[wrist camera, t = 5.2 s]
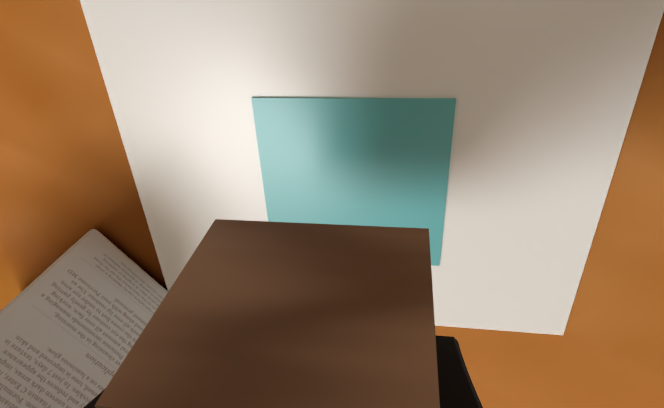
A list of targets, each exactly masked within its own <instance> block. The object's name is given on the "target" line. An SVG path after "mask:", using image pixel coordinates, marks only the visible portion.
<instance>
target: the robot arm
mask: <svg viewBox="0 0 664 408" xmlns="http://www.w3.org/2000/svg"><path fill="white" fill-rule="evenodd" d="M436 353H437V369H438V385H439V401H440V408H483V407H482V405H481V402H480V400H479V398H478V396H477V393H476V391H475V388H474V386H473V384H472V381H471V379H470V376H469V374H468V371H467V368H466V366H465V363H464V360H463V357H462V354H461V351H460V348H459V344H458V341H457V340H456V339H455V338H454V337H447V336H436ZM105 389H106V388H105ZM105 389H104V390H105ZM104 390H103V391H102V392H101V393H100V394H98V395H97V396H96V397H95V398H94V399H93V400H92V401H90V402H89V403H88V404H87V405H86V406H85V407H83V408H95V404H96V402H97V401H98V399H99V398H100V396H101V395H102V393H103V392H104Z"/></svg>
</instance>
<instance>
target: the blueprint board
mask: <svg viewBox="0 0 664 408" xmlns="http://www.w3.org/2000/svg"><path fill="white" fill-rule="evenodd" d="M80 2H81V6H82V9H83V12H84V16H85V19H86V22H87V26H88V29H89V32H90V35H91V39H92V42H93V45H94V49H95V52H96V55H97V59H98V62H99V65H100V68H101V72H102V75H103V78H104V82H105V85H106V88H107V92H108V95H109V98H110V101H111V105H112V108H113V111H114V115H115V118H116V121H117V124H118V128H119V131H120V134H121V138H122V141H123V144H124V148H125V151H126V154H127V157H128V161H129V164H130V167H131V171H132V174H133V177H134V181H135V184H136V187H137V190H138V194H139V197H140V200H141V204H142V207H143V210H144V214H145V217H146V220H147V223H148V227H149V230H150V233H151V237H152V240H153V243H154V246H155V250H156V253H157V256H158V260H159V263H160V266H161V270H162V273H163V276H164V279H165V283H166V286H167V289H168V291H169V290H170V288H171V287H172V285H173V284H174V282H175V281H176V279H177V278H178V276H179V274H180V273H181V271H182V270H183V268H184V267H185V265H186V264H187V262H188V261H189V259H190V257H191V256H192V254H193V253H194V251H195V250H196V248H197V247H198V245H199V244H200V242H201V241H202V239H203V237H204V236H205V234H206V233H207V231H208V230H209V228H210V227H211V225H212V224H213V222H214V220H215V219H222V220H245V221H268V222H291V223H314V224H337V225H359V226H382V227H405V228H428V229H429V238H430V255H431V271H432V287H433V304H434V320H435V325H436V326H449V327H462V328H475V329H488V330H502V331H515V332H528V333H541V334H554V335H563V334H564V331H565V327H566V324H567V321H568V318H569V314H570V311H571V308H572V305H573V302H574V298H575V295H576V292H577V289H578V285H579V282H580V279H581V276H582V273H583V269H584V266H585V263H586V260H587V256H588V253H589V250H590V247H591V244H592V240H593V237H594V234H595V231H596V228H597V224H598V221H599V218H600V215H601V211H602V208H603V205H604V202H605V199H606V195H607V192H608V189H609V186H610V182H611V179H612V176H613V173H614V170H615V166H616V163H617V160H618V157H619V153H620V150H621V147H622V144H623V141H624V137H625V134H626V131H627V128H628V125H629V121H630V118H631V115H632V112H633V108H634V105H635V102H636V99H637V96H638V92H639V89H640V86H641V83H642V79H643V76H644V73H645V70H646V67H647V63H648V60H649V57H650V54H651V50H652V47H653V44H654V41H655V38H656V34H657V31H658V28H659V25H660V22H661V18H662V15H663V12H664V0H80Z"/></svg>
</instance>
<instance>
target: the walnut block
mask: <svg viewBox="0 0 664 408" xmlns="http://www.w3.org/2000/svg"><path fill="white" fill-rule="evenodd" d="M95 408H440V401H439V385H438V369H437V353H436V336H435V320H434V304H433V287H432V271H431V255H430V238H429V229H428V228H405V227H382V226H359V225H337V224H314V223H291V222H268V221H245V220H222V219H215V220H214V222H213V224H212V225H211V227H210V228H209V230H208V231H207V233H206V234H205V236H204V237H203V239H202V241H201V242H200V244H199V245H198V247H197V248H196V250H195V251H194V253H193V254H192V256H191V257H190V259H189V261H188V262H187V264H186V265H185V267H184V268H183V270H182V271H181V273H180V274H179V276H178V278H177V279H176V281H175V282H174V284H173V285H172V287H171V288H170V290H169V291H168V293H167V294H166V296H165V298H164V299H163V301H162V302H161V304H160V305H159V307H158V308H157V310H156V311H155V313H154V315H153V316H152V318H151V319H150V321H149V322H148V324H147V325H146V327H145V328H144V330H143V332H142V333H141V335H140V336H139V338H138V339H137V341H136V342H135V344H134V345H133V347H132V348H131V350H130V352H129V353H128V355H127V356H126V358H125V359H124V361H123V362H122V364H121V365H120V367H119V369H118V370H117V372H116V373H115V375H114V376H113V378H112V379H111V381H110V382H109V384H108V385H107V387H106V389H105V390H104V392H103V393H102V395H101V396H100V398H99V399H98V401H97V402H96V404H95Z"/></svg>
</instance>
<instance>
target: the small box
mask: <svg viewBox="0 0 664 408" xmlns="http://www.w3.org/2000/svg"><path fill="white" fill-rule="evenodd" d="M167 293H168V291H167V290H166V289H165V288H163V287H162V286H161V285H160V284H159V283H157V282H156V281H155V280H154V279H153V278H152V277H150V276H149V275H148V274H147V273H146V272H145V271H144V270H142V269H141V268H140V267H139V266H138V265H137V264H136V263H135V262H133V261H132V260H131V259H130V258H129V257H128V256H127V255H125V254H124V253H123V252H122V251H121V250H120V249H119V248H117V247H116V246H115V245H114V244H113V243H112V242H111V241H109V240H108V239H107V238H106V237H105V236H104V235H102V234H101V233H100V232H99V231H97V230H96V229H91V230H90V231H88V232H87V233H86V234H85V235H84V236H83V237H81V238H80V239H79V240H78V241H77V242H76V243H75V244H74V245H72V246H71V247H70V248H69V249H68V250H67V251H66V252H65V253H64V254H62V255H61V256H60V257H59V258H58V259H57V260H56V261H55V262H54V263H53V264H52V265H50V266H49V267H48V268H47V269H46V270H45V271H44V272H43V273H42V274H41V275H39V276H38V277H37V278H36V279H35V280H34V281H33V282H32V283H31V284H30V285H29V286H27V287H26V288H25V289H24V290H23V291H22V292H21V293H20V294H19V295H17V296H16V297H15V298H14V299H13V300H12V301H11V302H10V303H9V304H7V305H6V306H5V307H4V308H3V309H2V310H1V311H0V408H83V407H85V406H86V405H87V404H88V403H89V402H90V401H92V400H93V399H94V398H95V397H96V396H97V395H98V394H100V393H101V392H102V391H103V390H104V389H105V388H106V387H107V385H108V384H109V382H110V381H111V379H112V378H113V376H114V375H115V373H116V372H117V370H118V369H119V367H120V365H121V364H122V362H123V361H124V359H125V358H126V356H127V355H128V353H129V352H130V350H131V348H132V347H133V345H134V344H135V342H136V341H137V339H138V338H139V336H140V335H141V333H142V332H143V330H144V328H145V327H146V325H147V324H148V322H149V321H150V319H151V318H152V316H153V315H154V313H155V311H156V310H157V308H158V307H159V305H160V304H161V302H162V301H163V299H164V298H165V296H166V294H167Z"/></svg>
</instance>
